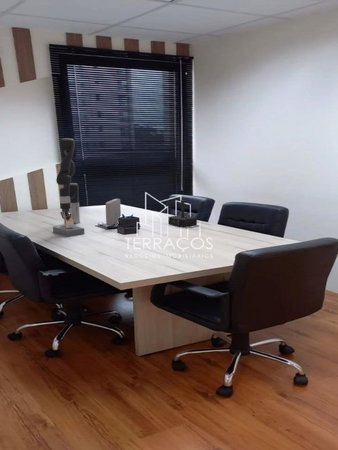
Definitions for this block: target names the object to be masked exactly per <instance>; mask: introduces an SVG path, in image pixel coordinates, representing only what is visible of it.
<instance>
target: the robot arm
mask: <svg viewBox="0 0 338 450" xmlns="http://www.w3.org/2000/svg"><path fill="white" fill-rule="evenodd" d="M75 147H76V141H75V139H73V138H67V137H65V138H60V140H59V148H60V153H61V155H60V156H61V159H62V160H61V163H60V169H59V171H58V173H57V176H56V178H55V180H56V184H57V185H59V186H64V187H62V188H60V189H59V207H60V209H61V211H60V215H61V218H62V220H64V225H66V222H65V220H67V219H73V221H74V224H79V223H81V216H80V215H81V213H80V198H79V196H80V195H79V192H80V191H79V188H80V187H79V184H78V183H77V182H72V177H73V176H74V175H75V172H76V166H75V162H74V161H73V156H74V151H75V149H76V148H75ZM67 151H68V153H67ZM70 195H73V196H72V197H71V196H70Z"/></svg>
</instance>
